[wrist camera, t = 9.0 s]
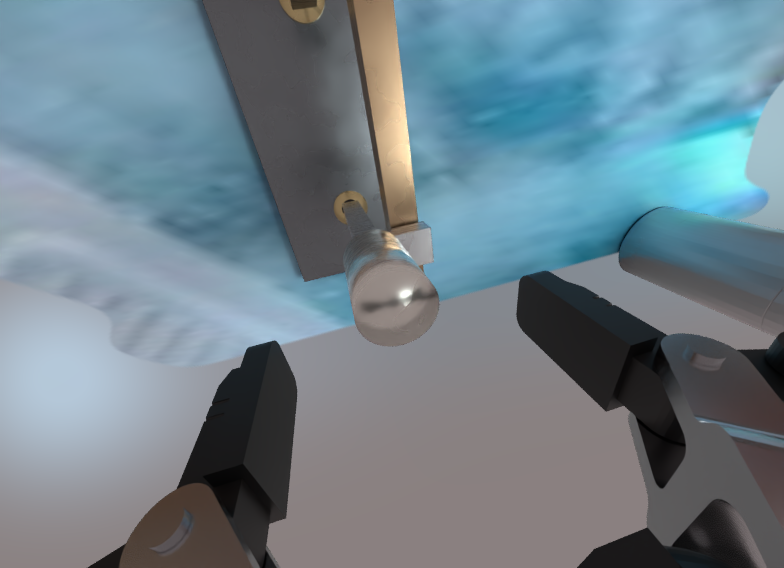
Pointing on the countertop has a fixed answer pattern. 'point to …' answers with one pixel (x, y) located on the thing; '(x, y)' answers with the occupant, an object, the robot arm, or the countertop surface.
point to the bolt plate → (322, 115)
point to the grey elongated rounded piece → (389, 279)
